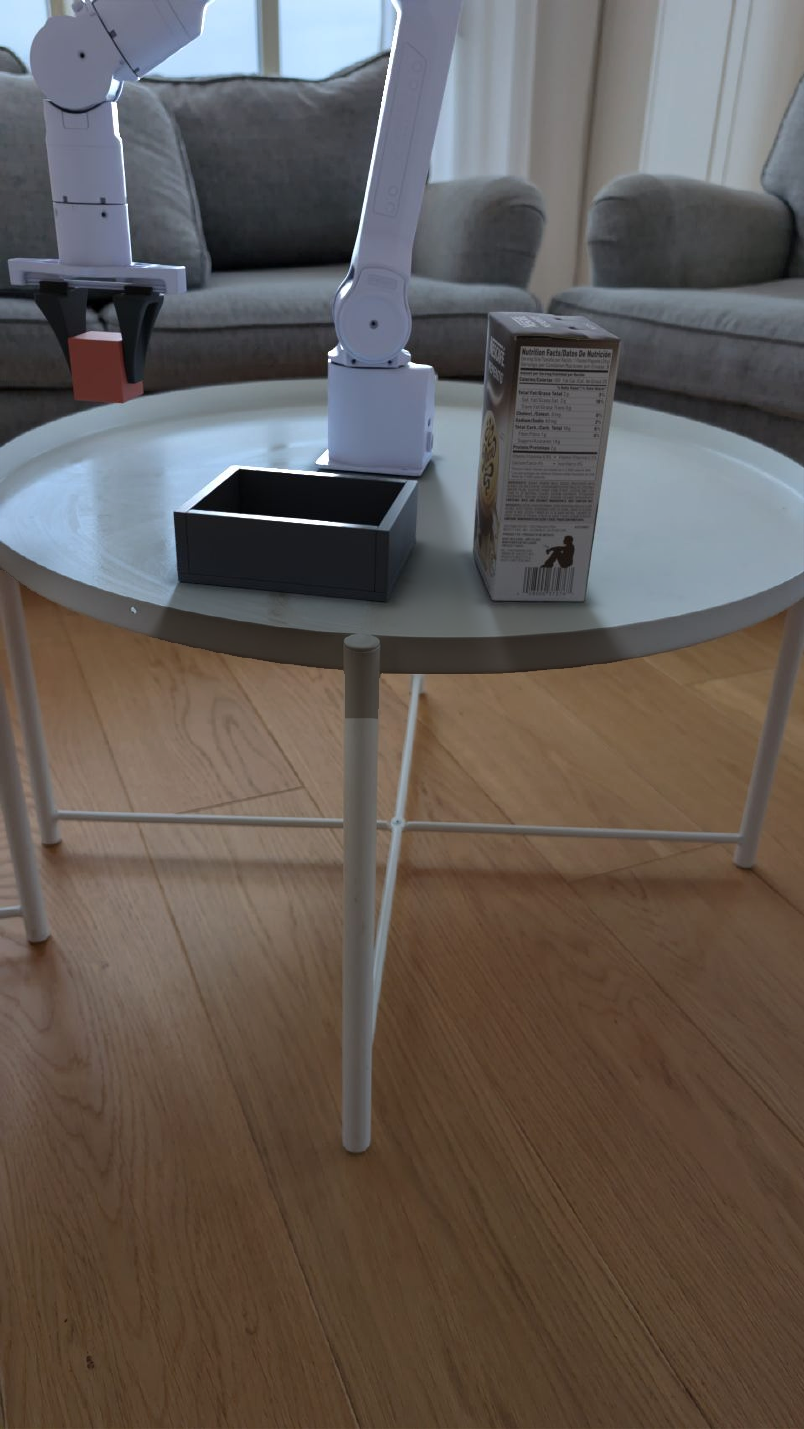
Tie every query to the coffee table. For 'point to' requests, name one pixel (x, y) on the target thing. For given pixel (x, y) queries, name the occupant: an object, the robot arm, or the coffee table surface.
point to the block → (100, 368)
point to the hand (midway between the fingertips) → (107, 379)
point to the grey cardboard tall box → (542, 453)
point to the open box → (298, 532)
